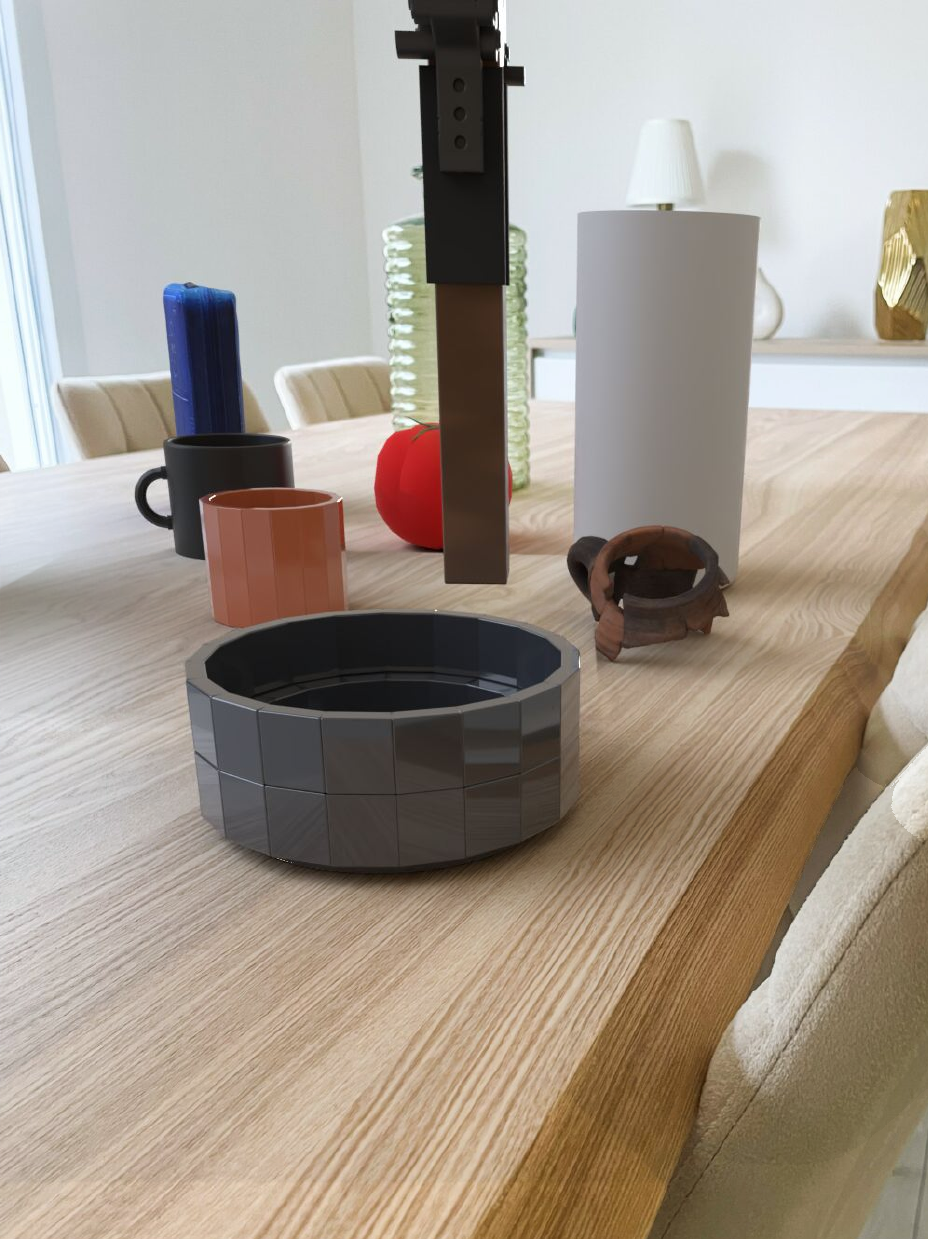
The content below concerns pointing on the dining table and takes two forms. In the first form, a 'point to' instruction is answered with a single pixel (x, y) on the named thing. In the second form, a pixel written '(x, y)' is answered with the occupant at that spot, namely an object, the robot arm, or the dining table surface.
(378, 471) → the tomato
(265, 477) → the mug
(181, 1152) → the dining table surface
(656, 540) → the pottery mug
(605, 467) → the cylinder vase
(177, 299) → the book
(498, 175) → the robot arm
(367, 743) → the bowl
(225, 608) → the pot
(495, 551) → the stick
